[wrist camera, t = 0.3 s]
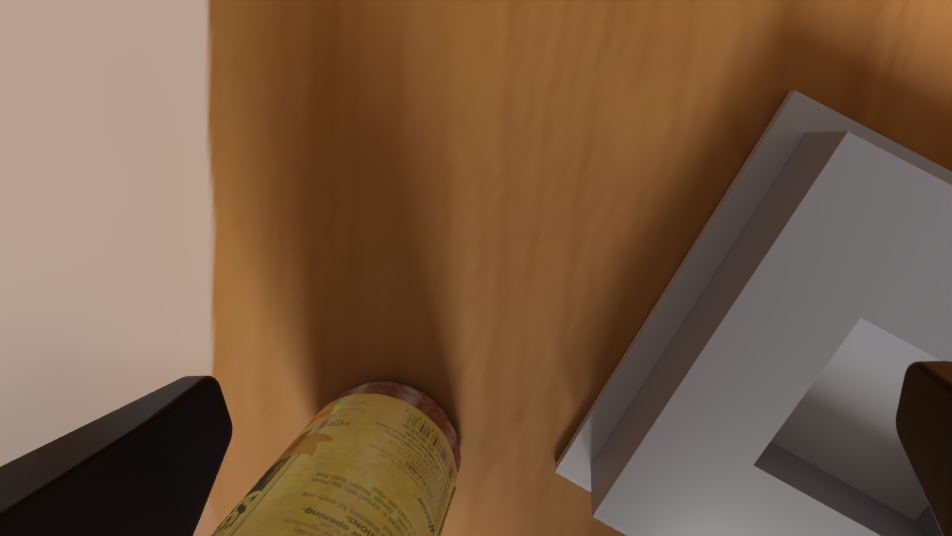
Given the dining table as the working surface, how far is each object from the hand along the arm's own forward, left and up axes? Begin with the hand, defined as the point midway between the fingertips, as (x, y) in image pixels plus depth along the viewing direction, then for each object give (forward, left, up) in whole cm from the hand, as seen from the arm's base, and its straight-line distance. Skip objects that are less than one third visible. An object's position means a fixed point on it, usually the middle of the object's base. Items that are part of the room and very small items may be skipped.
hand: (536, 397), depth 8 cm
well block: (0, -12, -15) cm, 20 cm away
